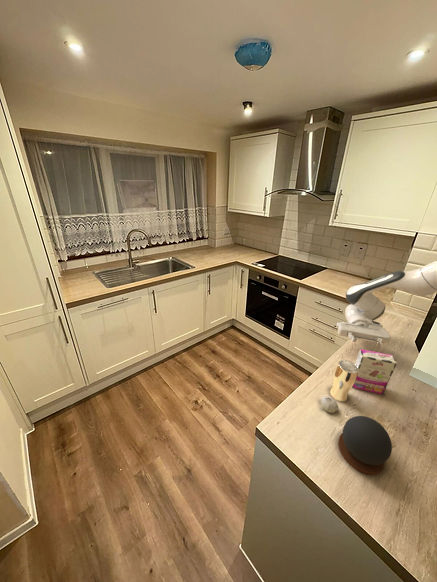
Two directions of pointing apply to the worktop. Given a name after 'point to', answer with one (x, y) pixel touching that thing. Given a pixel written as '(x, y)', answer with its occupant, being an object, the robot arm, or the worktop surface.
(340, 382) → the cream cylindrical can
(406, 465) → the worktop surface
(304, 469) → the worktop surface
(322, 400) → the garlic
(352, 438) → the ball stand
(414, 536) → the worktop surface
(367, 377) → the candy bar box
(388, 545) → the worktop surface
